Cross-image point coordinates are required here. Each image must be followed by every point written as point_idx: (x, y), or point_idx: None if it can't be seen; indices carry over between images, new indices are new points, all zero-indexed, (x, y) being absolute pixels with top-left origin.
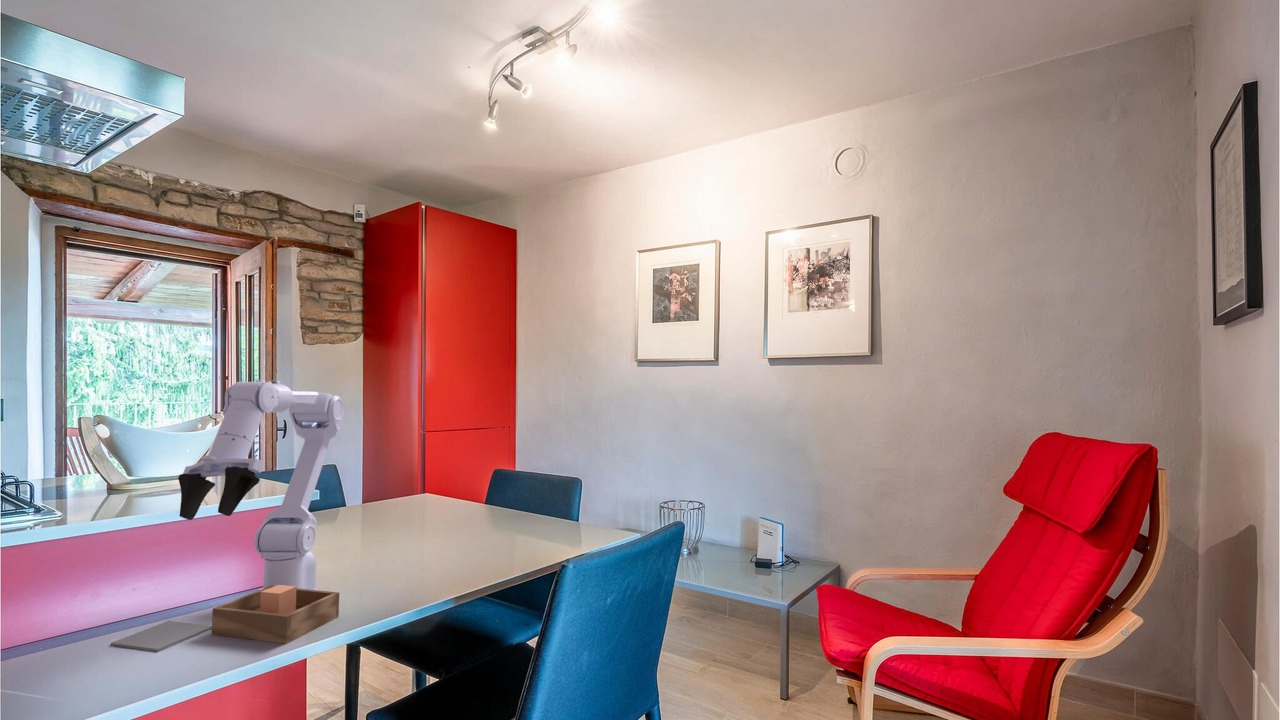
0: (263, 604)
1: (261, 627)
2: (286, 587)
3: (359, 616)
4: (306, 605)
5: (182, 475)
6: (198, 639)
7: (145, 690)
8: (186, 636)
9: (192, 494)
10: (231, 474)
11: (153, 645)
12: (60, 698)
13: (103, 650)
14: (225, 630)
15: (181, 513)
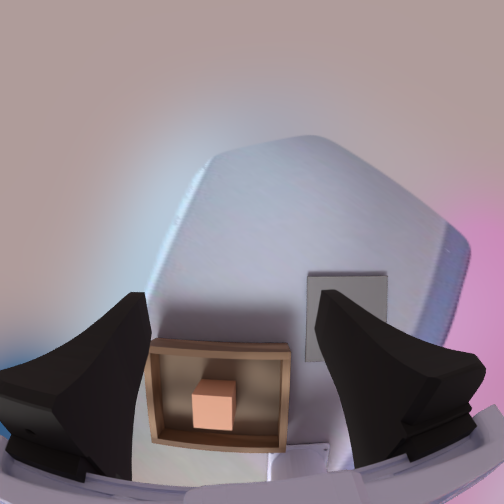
0: (226, 388)
1: (193, 344)
2: (206, 421)
3: (141, 431)
4: (209, 434)
5: (461, 363)
6: (293, 327)
7: (219, 191)
8: (309, 321)
9: (359, 363)
10: (33, 371)
11: (326, 285)
12: (295, 157)
13: (382, 264)
14: (261, 344)
15: (330, 292)
